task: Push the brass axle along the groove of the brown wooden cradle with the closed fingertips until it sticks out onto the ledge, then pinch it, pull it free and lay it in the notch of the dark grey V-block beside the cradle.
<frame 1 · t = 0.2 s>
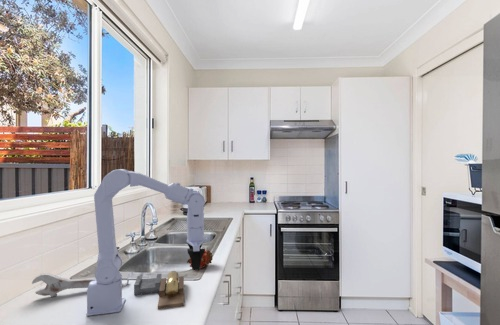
hand: (195, 265, 95), 10 cm above the countertop, tool pointing down, fingers open, 7 cm apart
brown wooden cradle: (172, 294, 95), on the countertop
wrench: (83, 292, 98), on the countertop
dragon fruit: (200, 268, 119), on the countertop
v block: (148, 288, 99), on the countertop
brass axle: (172, 283, 97), point 3 cm above the countertop, touching brown wooden cradle
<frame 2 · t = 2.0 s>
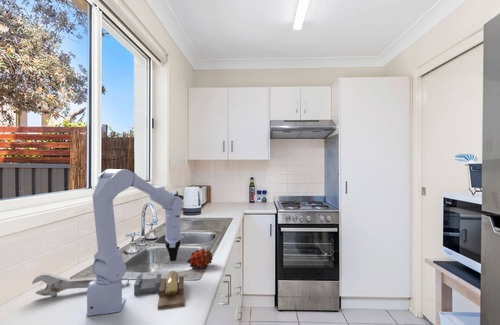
hand: (173, 260, 108), 7 cm above the countertop, tool pointing down, fingers closed
nothing on the countertop moved.
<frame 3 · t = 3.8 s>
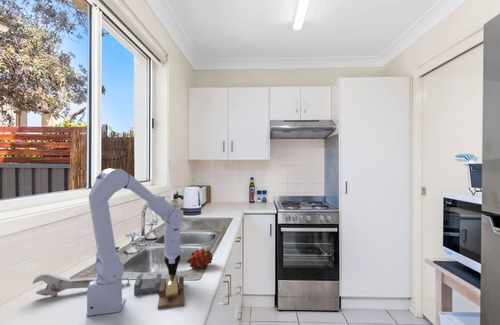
hand: (172, 276, 102), 3 cm above the countertop, tool pointing down, fingers closed
brass axle: (172, 285, 95), point 3 cm above the countertop, touching gripper, brown wooden cradle
everything else where it was.
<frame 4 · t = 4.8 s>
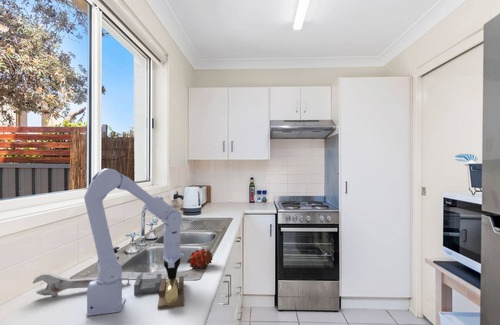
hand: (172, 280, 98), 4 cm above the countertop, tool pointing down, fingers closed
brass axle: (171, 290, 91), point 3 cm above the countertop, touching gripper, brown wooden cradle
everything else where it was.
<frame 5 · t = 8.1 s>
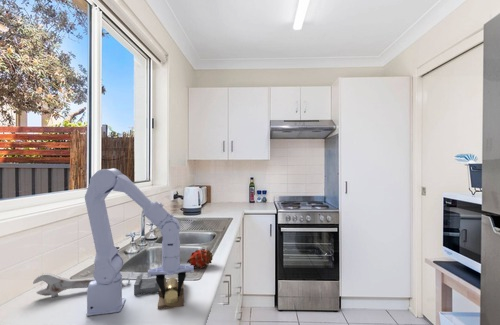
hand: (171, 296, 90), 2 cm above the countertop, tool pointing down, fingers closed on brass axle, 4 cm apart
brass axle: (171, 290, 91), point 3 cm above the countertop, touching gripper, brown wooden cradle
everything else where it was.
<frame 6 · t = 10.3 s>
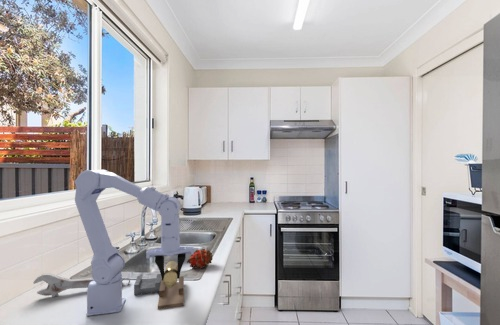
hand: (170, 278, 87), 9 cm above the countertop, tool pointing down, fingers closed on brass axle, 4 cm apart
brass axle: (170, 273, 88), point 10 cm above the countertop, touching gripper
everything else where it was.
when the fingers open (4 cm above the countertop, at t = 12.6 s): brass axle drops 1 cm, resting on v block.
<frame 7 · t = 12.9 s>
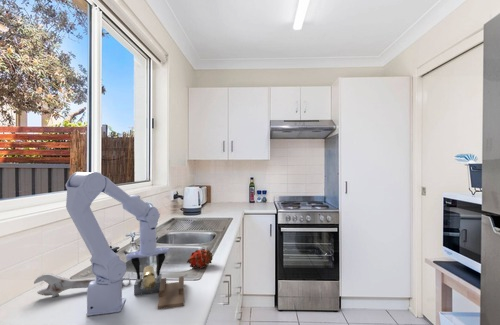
hand: (148, 276, 99), 4 cm above the countertop, tool pointing down, fingers open, 6 cm apart
brass axle: (148, 276, 100), point 4 cm above the countertop, tilted 9°, touching v block
everything else where it was.
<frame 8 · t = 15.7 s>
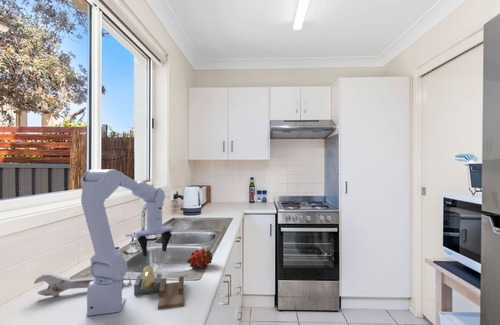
hand: (154, 253, 107), 10 cm above the countertop, tool pointing down, fingers open, 7 cm apart
nothing on the countertop moved.
at the end: brass axle 0.7 cm off-centre on the v block, point 4.0 cm above the v block's base; brass axle touching v block; the gripper is holding nothing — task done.
